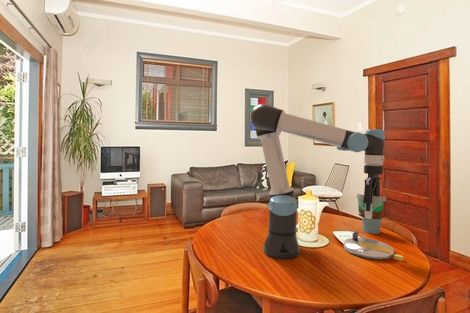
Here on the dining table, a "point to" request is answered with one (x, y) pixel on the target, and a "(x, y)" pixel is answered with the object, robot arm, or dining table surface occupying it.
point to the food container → (376, 207)
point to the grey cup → (371, 225)
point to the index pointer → (398, 257)
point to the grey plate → (368, 248)
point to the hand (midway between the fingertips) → (370, 216)
